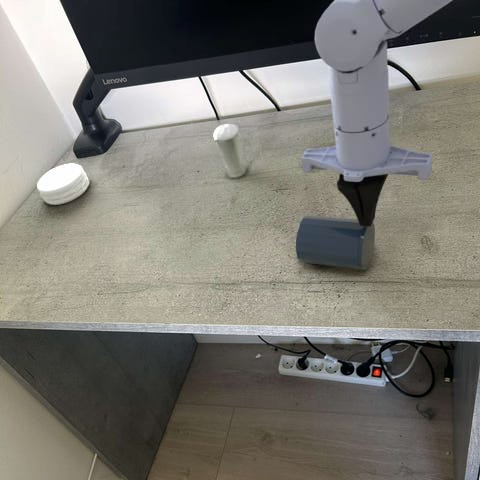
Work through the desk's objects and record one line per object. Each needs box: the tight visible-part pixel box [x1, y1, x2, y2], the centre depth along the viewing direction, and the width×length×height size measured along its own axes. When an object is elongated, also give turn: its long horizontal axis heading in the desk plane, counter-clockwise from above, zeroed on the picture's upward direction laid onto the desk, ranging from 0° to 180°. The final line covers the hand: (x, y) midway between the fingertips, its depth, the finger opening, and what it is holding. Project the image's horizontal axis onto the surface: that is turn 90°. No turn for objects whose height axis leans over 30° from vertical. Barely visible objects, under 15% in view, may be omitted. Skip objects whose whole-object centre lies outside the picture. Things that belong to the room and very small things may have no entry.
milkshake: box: [213, 120, 246, 179], centre depth 86 cm, size 5×5×10 cm
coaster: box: [36, 163, 90, 206], centre depth 100 cm, size 10×10×4 cm
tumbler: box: [295, 215, 376, 271], centre depth 66 cm, size 6×6×9 cm
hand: (367, 221), depth 61 cm, fingers closed
